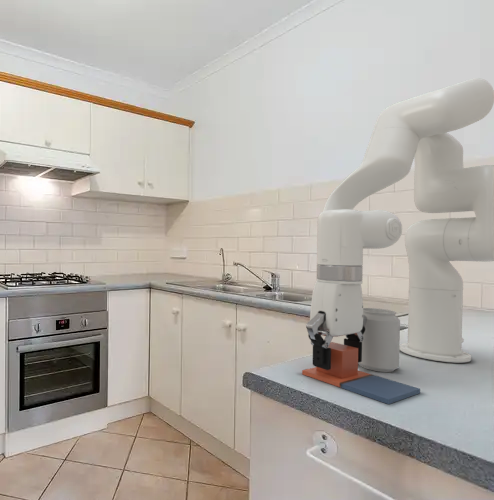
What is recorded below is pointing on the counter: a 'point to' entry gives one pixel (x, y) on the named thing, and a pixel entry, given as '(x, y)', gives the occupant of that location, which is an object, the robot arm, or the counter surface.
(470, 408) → the counter surface
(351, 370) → the terracotta block
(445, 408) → the counter surface
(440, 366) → the counter surface
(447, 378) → the counter surface
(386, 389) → the sorting board
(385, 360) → the can
